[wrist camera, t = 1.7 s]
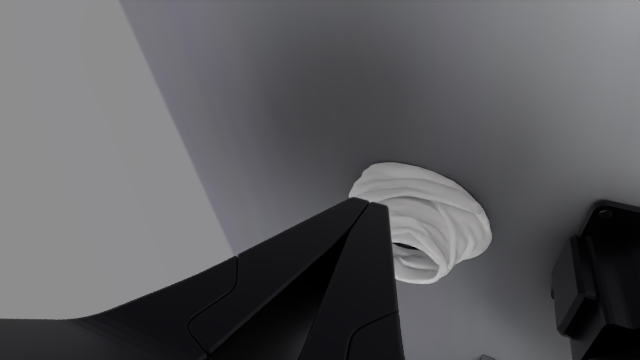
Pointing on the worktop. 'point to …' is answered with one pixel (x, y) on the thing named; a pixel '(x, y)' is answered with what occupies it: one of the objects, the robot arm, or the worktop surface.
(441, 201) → the whipped cream
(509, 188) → the worktop surface
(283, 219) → the worktop surface
